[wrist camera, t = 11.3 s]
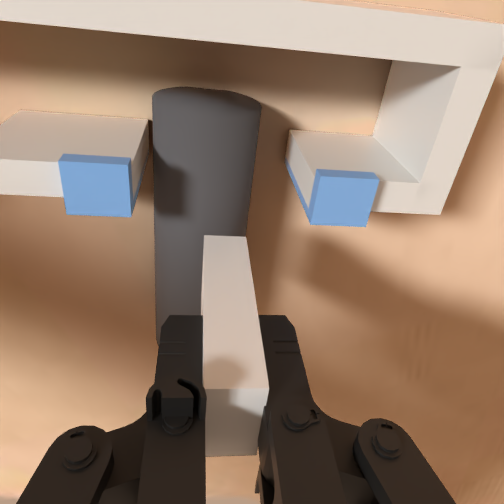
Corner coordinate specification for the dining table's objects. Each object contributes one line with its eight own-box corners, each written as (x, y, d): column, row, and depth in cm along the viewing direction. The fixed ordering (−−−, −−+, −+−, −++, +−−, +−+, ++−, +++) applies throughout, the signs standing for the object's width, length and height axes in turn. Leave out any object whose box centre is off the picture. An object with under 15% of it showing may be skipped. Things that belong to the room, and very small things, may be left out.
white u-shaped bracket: (-250, 129, 16) (-431, 194, 12) (-371, -86, 13) (-702, -116, 8) (388, 168, 20) (444, 230, 15) (435, 10, 16) (529, 28, 12)
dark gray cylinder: (242, 320, 23) (216, 373, 20) (176, 301, 24) (141, 348, 21) (273, 99, 17) (242, 125, 14) (181, 81, 18) (130, 101, 14)
